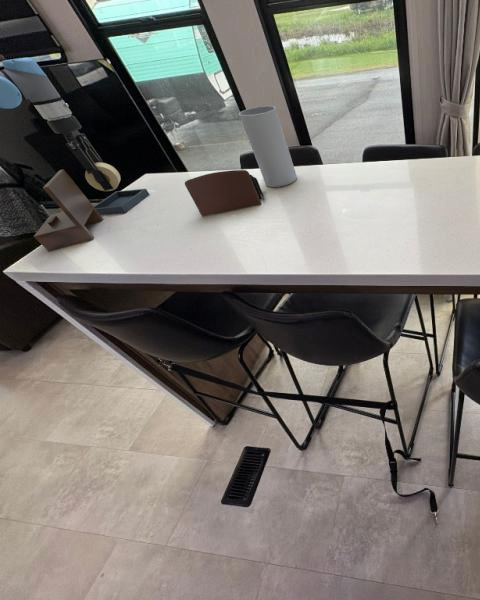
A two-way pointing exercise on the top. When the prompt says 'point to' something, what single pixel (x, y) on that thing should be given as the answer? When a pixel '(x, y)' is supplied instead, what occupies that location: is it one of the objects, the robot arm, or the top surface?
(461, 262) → the top surface
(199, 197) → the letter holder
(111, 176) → the tape roll
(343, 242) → the top surface
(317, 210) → the top surface
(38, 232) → the stand
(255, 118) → the cylinder vase
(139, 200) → the tray
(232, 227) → the top surface
